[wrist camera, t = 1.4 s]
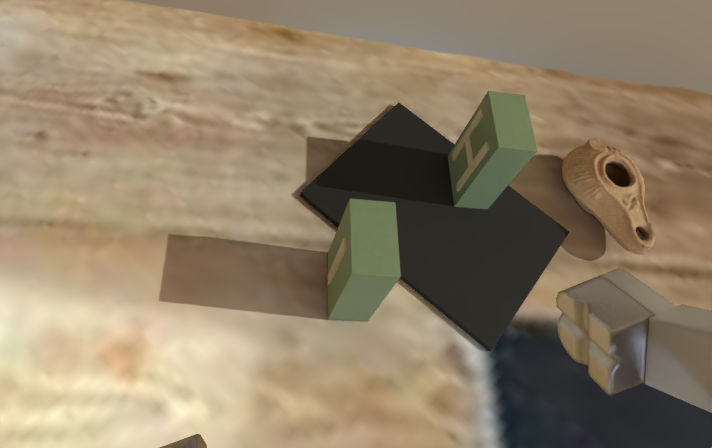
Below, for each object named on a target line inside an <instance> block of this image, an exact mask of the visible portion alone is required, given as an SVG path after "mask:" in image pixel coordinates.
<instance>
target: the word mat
mask: <svg viewBox="0 0 712 448" xmlns="http://www.w3.org/2000/svg"><path fill="white" fill-rule="evenodd" d="M453 147H454V144H453V143H451V142H450V141H449V140H448V139H446V138H445V137H444V136H442V135H441V134H440V133H438V132H437V131H436V130H434V129H433V128H432V127H430V126H429V125H428V124H426V123H425V122H424V121H423V120H421V119H420V118H419V117H417V116H416V115H415V114H413V113H412V112H411V111H409V110H408V109H407V108H405V107H404V106H403V105H401V104H400V103H398V104H397V105H396V106H395V107H394V108H392V109H391V110H390V111H389V112H388V113H387V114H386V115H385V116H384V117H383V118H382V119H380V120H379V121H378V122H377V123H376V124H375V125H374V126H373V127H372V128H371V129H370V130H368V131H367V132H366V133H365V134H364V135H363V136H362V137H361V138H360V139H359V140H358V141H356V142H355V143H354V144H353V145H352V146H351V147H350V148H349V149H348V150H347V151H346V152H344V153H343V154H342V155H341V156H340V157H339V158H338V159H337V160H336V161H335V162H334V163H332V164H331V165H330V166H329V167H328V168H327V169H326V170H325V171H324V172H323V173H322V174H321V175H319V176H318V177H317V178H316V179H315V180H314V181H313V182H312V183H311V184H310V185H309V186H307V187H306V188H305V189H304V190H303V191H302V192H301V194H300V196H301V197H302V198H303V199H304V200H306V201H307V202H308V203H309V204H311V205H312V206H313V207H314V208H315V209H317V210H318V211H319V212H320V213H322V214H323V215H324V216H325V217H326V218H328V219H329V220H330V221H331V222H332V223H334V224H335V225H336V226H337V227H339V224H340V222H341V219H342V217H343V214H344V212H345V209H346V207H347V204H348V202H349V199H362V200H373V201H385V202H395V204H396V218H397V232H398V246H399V259H400V273H401V277H400V278H401V279H402V280H403V281H404V282H406V283H407V284H408V285H409V286H411V287H412V288H413V289H414V290H415V291H417V292H418V293H419V294H420V295H422V296H423V297H424V298H425V299H426V300H428V301H429V302H430V303H431V304H432V305H434V306H435V307H436V308H437V309H439V310H440V311H441V312H442V313H443V314H445V315H446V316H447V317H448V318H450V319H451V320H452V321H453V322H454V323H456V324H457V325H458V326H459V327H461V328H462V329H463V330H464V331H465V332H467V333H468V334H469V335H470V336H471V337H473V338H474V339H475V340H476V341H478V342H479V343H480V344H481V345H482V346H484V347H485V348H486V349H487V350H489V351H491V350H492V349H493V348H494V346H495V345H496V343H497V341H498V340H499V338H500V337H501V335H502V334H503V332H504V331H505V329H506V328H507V326H508V325H509V323H510V322H511V320H512V319H513V317H514V316H515V314H516V312H517V311H518V309H519V308H520V306H521V305H522V303H523V302H524V300H525V299H526V297H527V296H528V294H529V293H530V291H531V290H532V288H533V287H534V285H535V283H536V282H537V280H538V279H539V277H540V276H541V274H542V273H543V271H544V270H545V268H546V267H547V265H548V264H549V262H550V261H551V259H552V258H553V256H554V254H555V253H556V251H557V250H558V248H559V247H560V245H561V244H562V242H563V241H564V239H565V238H566V236H567V235H568V233H569V231H567V230H566V229H565V228H563V227H562V226H561V225H559V224H558V223H557V222H555V221H554V220H553V219H552V218H550V217H549V216H548V215H546V214H545V213H544V212H542V211H541V210H540V209H538V208H537V207H536V206H534V205H533V204H532V203H530V202H529V201H528V200H527V199H525V198H524V197H523V196H521V195H520V194H519V193H517V192H516V191H515V190H513V189H512V188H511V187H509V186H507V187H506V188H505V189H504V191H503V192H502V193H501V194H500V195H499V196H498V198H497V199H496V200H495V201H494V202H493V203H492V205H491V206H490V207H489V208H488V209H477V208H465V207H454V201H453V193H452V185H451V178H450V170H449V162H448V155H449V153H450V152H451V150H452V148H453Z"/></svg>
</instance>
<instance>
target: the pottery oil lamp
mask: <svg viewBox="0 0 712 448" xmlns="http://www.w3.org/2000/svg"><path fill="white" fill-rule="evenodd" d="M562 177H563V180H564V183H565V185H566V187H567V188H568V190H569V191H570V192H571V194H572V195H573V196H574V197H575V199H576V201H577V202H578V204H579V205H580V206H581V207H582V208H583V209H584V210H585V211H587V212H588V213H590V214H592V215H593V216H594V217H595V218H596V219H597V220H598V221H599V222H600V223H601V224H602V225H603V226H604V227H605V228H606V230H607V231H608V232H609V233H610V234H611V236H612V237H613V238H614V239H615V240H616V241H617V242H618V243H619V244H620V245H621V246H622V247H623V248H624V249H626V250H628V251H631V252H633V253H635V254H645V253H647V252H648V251H649V250H650V249H651V247H652V246H653V244H654V237H655V236H654V232H653V229H652V226H651V223H650V221H649V218H648V215H647V212H646V208H645V205H644V192H645V185H644V179H643V177H642V174H641V173H640V171H639V169H638V168H637V166H636V165H635V163H634V161H633V160H632V159H631V158H630V157H629V156H628V155H627V154H626V153H623V152H621V151H620V150H618V149H616V148H610V147H608V146H606V145H605V144H604V143H602V142H601V141H599V140H597V139H589V140H588V142H587V143H586V144H585V145H583V146H580V147H577V148H575V149H574V150H572V151H571V152H569V153H568V154H567V156H566V157H565V158H564V160H563V164H562Z"/></svg>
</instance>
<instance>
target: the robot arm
mask: <svg viewBox="0 0 712 448" xmlns="http://www.w3.org/2000/svg"><path fill="white" fill-rule="evenodd" d="M556 303H557V308H558V309H560V310H561V311H562V312H563V313H562V314H561V316H560V318H559V320H558V322H557V324H558V334H559V336H560V339H561V341H562V344H563V346H564V347H565V349H566V350H567V352H568V353H569V354H570V355H571V357H572V358H573V359H574V360H575V361H577V362H580V363H583V364H586V365H589V375H590V376H591V377H592V378H593V379H594V380H595V381H596V382H597V383H598V384H599V386H600V387H601V388H602V389H603V390H604V391H605V392H606V393H607V394H608V395H609V396H610V395H613V394H615V393H618V392H620V391H623V390H625V389H628V388H630V387H633V386H636V385H638V384H641V383H643V382H645V384H646V385H649V386H651V387H653V388H656V389H658V390H660V391H663V392H665V393H667V394H669V395H672V396H674V397H676V398H679V399H681V400H683V401H686V402H688V403H690V404H693V405H695V406H697V407H700V408H702V409H704V410H707V411H709V412H711V413H712V311H709V310H704V309H700V308H696V307H691V306H687V305H680V306H677V307H676V306H675V305H673V304H672V303H671V302H669V301H668V300H666V299H665V298H663V297H662V296H661V295H659V294H658V293H656V292H655V291H654V290H652V289H651V288H649V287H648V286H647V285H645V284H644V283H642V282H641V281H640V280H638V279H637V278H635V277H634V276H633V275H631V274H630V273H628V272H627V271H626V270H624V269H620V268H617V269H615V270H612V271H610V272H607V273H605V274H602V275H600V276H598V277H595V278H593V279H590V280H588V281H585V282H583V283H580V284H578V285H575V286H573V287H570V288H568V289H565V290H563V291H560V292H558V295H557V297H556ZM160 448H207V445H206V443H205V442H204V440H203V438H202V437H201V435H199V434H196V435H193V436H190V437H188V438H185V439H182V440H179V441H177V442H174V443H171V444H168V445H166V446H163V447H160ZM710 448H712V447H710Z"/></svg>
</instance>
